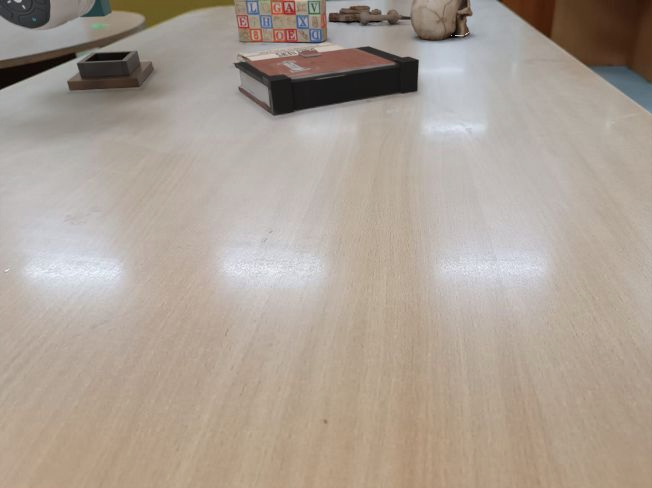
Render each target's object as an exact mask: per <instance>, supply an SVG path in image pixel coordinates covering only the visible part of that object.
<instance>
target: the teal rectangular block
mask: <svg viewBox="0 0 652 488" xmlns="http://www.w3.org/2000/svg"><path fill="white" fill-rule="evenodd" d="M112 13H113V11H112V7H111V3H110V0H95V3H94V5H93V7H92V8H91V10H90V11H89V12H87V13H86V14H84V15H83V16H80V17H79V18H99V17H101V18H103V17H104V18H105V17H106V16H108V15H110V14H112Z"/></svg>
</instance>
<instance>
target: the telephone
mask: <svg viewBox="0 0 652 488" xmlns="http://www.w3.org/2000/svg"><path fill="white" fill-rule="evenodd" d="M382 13H383V12H382V10H381V9H379V8H374V9H371V6H369V5H351V6H350V7H348V8H345V7H342V8H340V9H339V11H338V12H329V13H328V22H355V21H356V22H359V23H360V24H361V25H367V24H369V23H370V22H384V21H387V22H388V24H390V25H391V24H393V25H394V24H396V23H397V22H398V21H411V17H410V16H409V15H408V16H407V15H406V16H405V15H402V14H399V12H398V11H397V10H396V9H390V10H388V11H387V12H386V14H382Z"/></svg>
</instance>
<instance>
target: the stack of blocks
mask: <svg viewBox="0 0 652 488" xmlns="http://www.w3.org/2000/svg"><path fill="white" fill-rule="evenodd" d="M233 4H234V11H235V12H234V13H235V17H236V23H237V30H238V37H239V42H249V43H250V42H252V43H274V42H275V43H324V41H325V40H327V39H328V20H327V19H328V18H327V0H233Z"/></svg>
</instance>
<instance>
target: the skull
mask: <svg viewBox="0 0 652 488" xmlns="http://www.w3.org/2000/svg"><path fill="white" fill-rule="evenodd" d="M473 15H474V12H473V11H472V9H471V0H412V1H411V5H410V16H409V17H411V20H410V23H411V26H412V28H413V30H414V33H415V34H416V35H417V36H419V38H420V39H422V40H430V41H442V40H445V39H447V38H449V37H452V38H456V39H458V38H459V39H461V38H464V37H467V36H468V35H469V34H470V32H471V31H470V28H469V27H468V25H467V22H468V20H467V17H473ZM468 32H469V33H468ZM466 33H468V34H467V35H465V34H466ZM451 35H452V36H451ZM455 35H465V36H455Z"/></svg>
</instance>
